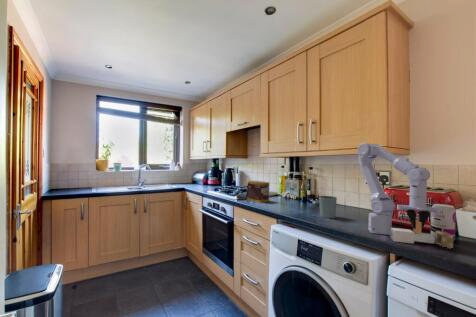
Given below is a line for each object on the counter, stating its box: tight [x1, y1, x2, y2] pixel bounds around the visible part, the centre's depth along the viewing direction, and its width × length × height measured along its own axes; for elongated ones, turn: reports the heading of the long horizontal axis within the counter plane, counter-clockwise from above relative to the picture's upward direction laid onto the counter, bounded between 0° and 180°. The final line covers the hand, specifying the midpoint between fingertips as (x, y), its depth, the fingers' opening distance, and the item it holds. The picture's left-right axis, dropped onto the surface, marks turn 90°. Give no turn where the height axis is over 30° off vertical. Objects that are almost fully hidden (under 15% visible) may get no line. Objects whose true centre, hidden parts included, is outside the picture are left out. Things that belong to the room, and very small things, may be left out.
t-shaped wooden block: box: [389, 219, 436, 244], centre depth 100 cm, size 15×3×8 cm, turn 71°
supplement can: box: [430, 203, 457, 241], centre depth 105 cm, size 8×8×15 cm
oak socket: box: [435, 231, 454, 249], centre depth 97 cm, size 3×6×5 cm, turn 161°
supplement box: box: [246, 180, 270, 203], centre depth 193 cm, size 10×15×16 cm
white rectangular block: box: [391, 227, 415, 245], centre depth 101 cm, size 7×5×5 cm, turn 71°
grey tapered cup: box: [318, 195, 338, 219], centre depth 142 cm, size 10×10×12 cm
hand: (417, 228), depth 100 cm, fingers closed on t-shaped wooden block, 2 cm apart
